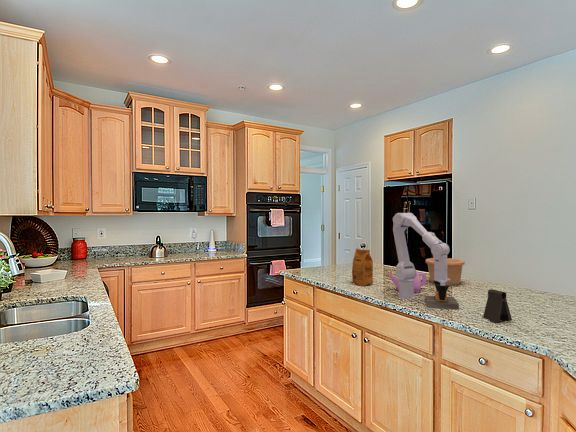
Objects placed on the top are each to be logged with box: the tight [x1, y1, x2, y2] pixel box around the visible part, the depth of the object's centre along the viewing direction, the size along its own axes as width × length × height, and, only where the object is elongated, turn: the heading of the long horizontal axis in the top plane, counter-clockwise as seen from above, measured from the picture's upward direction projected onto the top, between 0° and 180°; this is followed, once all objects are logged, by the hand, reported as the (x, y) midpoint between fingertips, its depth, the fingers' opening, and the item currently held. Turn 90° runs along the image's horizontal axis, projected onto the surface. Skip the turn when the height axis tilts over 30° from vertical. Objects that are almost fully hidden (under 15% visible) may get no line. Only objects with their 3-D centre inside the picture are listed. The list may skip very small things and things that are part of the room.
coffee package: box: [351, 248, 374, 287], centre depth 214 cm, size 10×12×22 cm
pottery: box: [425, 257, 465, 287], centre depth 212 cm, size 22×22×14 cm
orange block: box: [434, 290, 448, 301], centre depth 162 cm, size 4×4×6 cm
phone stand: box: [482, 288, 513, 324], centre depth 141 cm, size 9×6×12 cm, turn 110°
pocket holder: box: [424, 295, 460, 311], centre depth 162 cm, size 13×13×3 cm
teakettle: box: [387, 270, 428, 294], centre depth 197 cm, size 17×17×12 cm
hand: (441, 297), depth 162 cm, fingers open, 7 cm apart
